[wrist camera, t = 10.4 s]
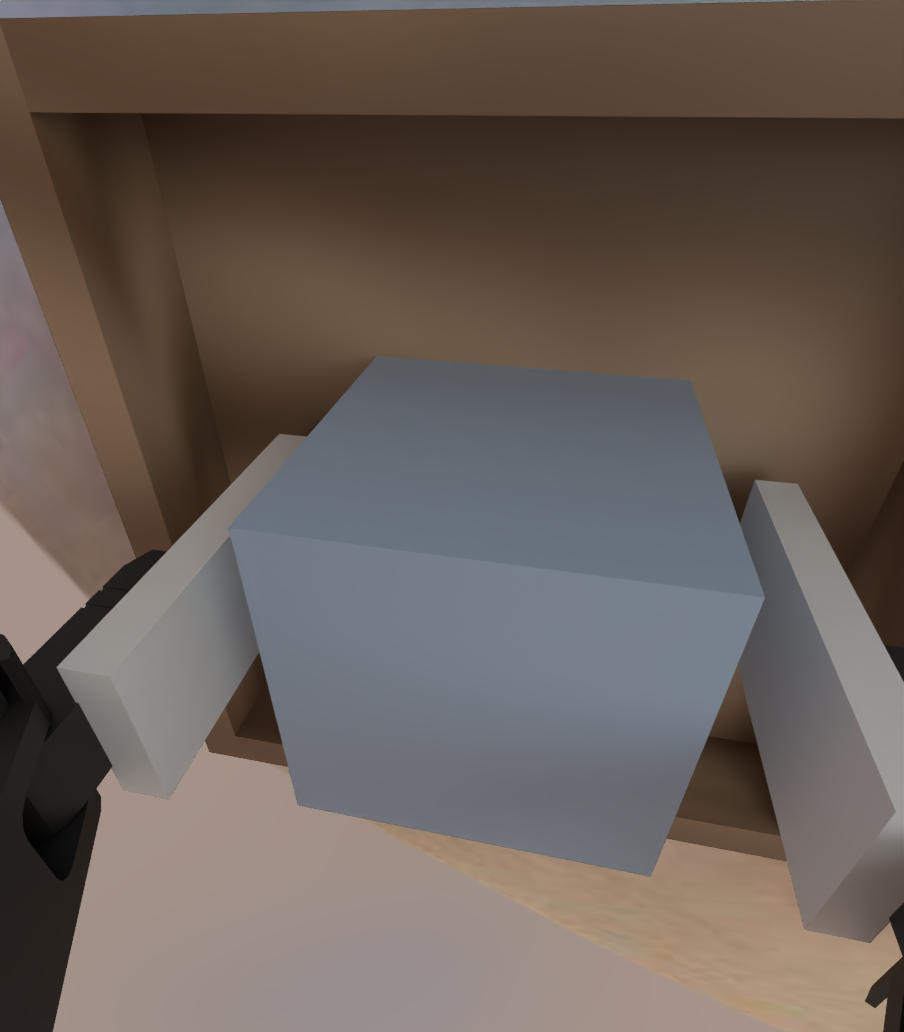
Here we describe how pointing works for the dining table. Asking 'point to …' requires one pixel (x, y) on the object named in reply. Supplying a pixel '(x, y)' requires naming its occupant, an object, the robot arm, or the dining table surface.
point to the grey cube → (501, 605)
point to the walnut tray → (478, 251)
